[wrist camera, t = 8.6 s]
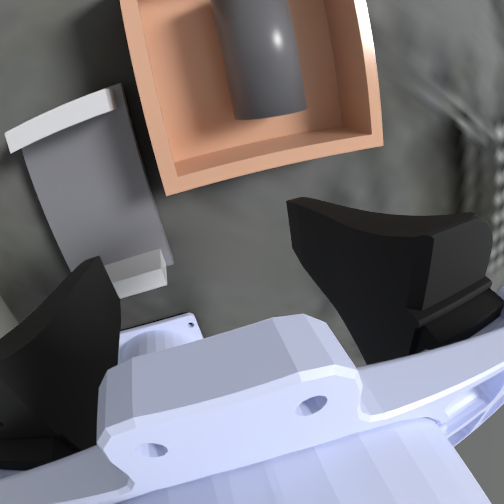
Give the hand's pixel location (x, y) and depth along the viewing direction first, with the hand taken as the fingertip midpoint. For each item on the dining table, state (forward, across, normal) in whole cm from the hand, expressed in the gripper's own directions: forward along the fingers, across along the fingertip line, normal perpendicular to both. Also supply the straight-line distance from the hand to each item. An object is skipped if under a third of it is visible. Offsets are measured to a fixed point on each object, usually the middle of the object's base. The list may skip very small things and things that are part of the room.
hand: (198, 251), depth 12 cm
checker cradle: (+9, +6, -1) cm, 11 cm away
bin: (+9, -6, -7) cm, 13 cm away
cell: (+7, -6, -7) cm, 11 cm away
